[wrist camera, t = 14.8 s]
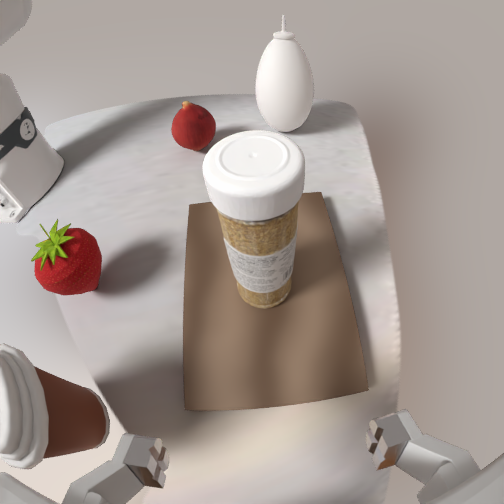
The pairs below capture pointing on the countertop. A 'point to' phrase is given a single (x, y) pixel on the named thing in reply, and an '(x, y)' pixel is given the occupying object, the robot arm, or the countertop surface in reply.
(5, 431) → the coffee cup
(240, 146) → the sprinkles bottle
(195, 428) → the countertop surface
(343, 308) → the walnut board
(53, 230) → the strawberry
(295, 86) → the sauce bottle
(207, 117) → the onion
